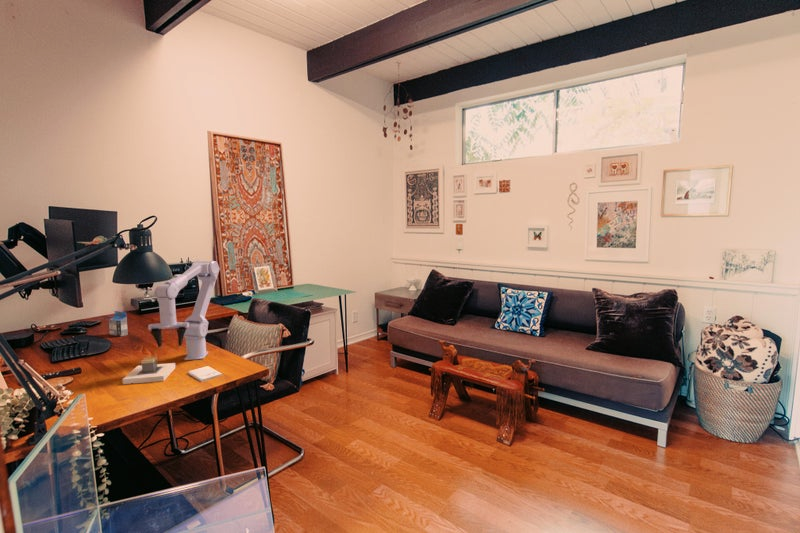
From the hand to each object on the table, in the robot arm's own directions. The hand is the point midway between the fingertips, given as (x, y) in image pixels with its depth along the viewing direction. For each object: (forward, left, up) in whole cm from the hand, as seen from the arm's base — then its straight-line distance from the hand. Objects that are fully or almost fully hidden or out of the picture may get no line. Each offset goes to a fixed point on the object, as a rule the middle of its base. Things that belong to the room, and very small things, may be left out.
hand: (170, 345), depth 166 cm
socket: (+6, -6, -10) cm, 13 cm away
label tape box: (-58, -43, -10) cm, 73 cm away
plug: (+6, -6, -10) cm, 13 cm away
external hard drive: (+10, +15, -11) cm, 21 cm away
